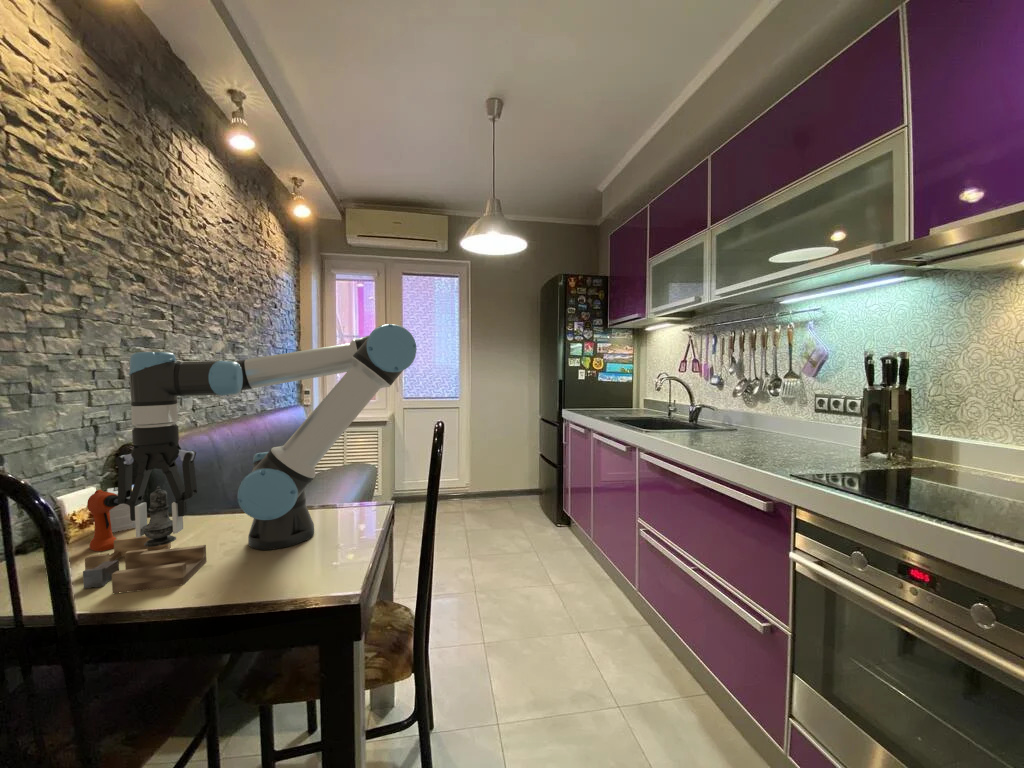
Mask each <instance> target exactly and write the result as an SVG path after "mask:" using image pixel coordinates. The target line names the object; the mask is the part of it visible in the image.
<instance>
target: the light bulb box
mask: <svg viewBox="0 0 1024 768" xmlns="http://www.w3.org/2000/svg"><path fill="white" fill-rule="evenodd" d="M133 487H134V484H132V490H133ZM106 492H110V493H114V494H116V495H117V496H118V486H117V487H109V488H107V489H106ZM109 512H110V521H111V529H112V532H113V533H117V532H118V531H119V532H123V531H122V530H124V531H128V530H127V529H129V530H132V529H131V528H134V529H136V525H135V521H131V519H130V506H129V505H127V504H119V505H118V506H115V507H114V508H112V509H111V510H110V511H109Z"/></svg>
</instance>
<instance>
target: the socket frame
mask: <svg viewBox="0 0 1024 768" xmlns="http://www.w3.org/2000/svg"><path fill="white" fill-rule="evenodd" d="M149 540H150V538H148V537H146V536H145V535H143V536H141V537H136V536H132V537H121V538H116V540H114V548H113V550H114V551H113V552H112V553H111V554H110V553H109V552H107V553H100V554H99V553H98V554H90V555H87V556H85V557H84V570H86V569H93V568H95V567H97V566H99V565H100V564H102V563H103V562H106V561H114V560H118V559H119V558H121V557H124V564H125V570H128V569H136V568H138V567H139V566H140V554H141V553H143V552H147V551H156V550H164V549H170V548H171V549H172V542H170V543H168V544H164V545H160V546H154V547H146V546H144V544H145V543H146V542H147V541H149ZM120 556H121V557H120Z"/></svg>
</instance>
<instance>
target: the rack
mask: <svg viewBox="0 0 1024 768" xmlns="http://www.w3.org/2000/svg"><path fill="white" fill-rule="evenodd" d="M207 561H208V560H207V545H206V544H202V545H201V544H200V545H192V546H182V547H176V548H175V547H173V548H171V549H164V550H156V551H147V552H143V553H141V554H140V566H139V567H138V568H136V569H128V570H126V569H122V570H121V569H119V571H116V572H114V573H113V574H112V579H111V585H112V589H111V590H112V591H111V592H112V594H113V593H118V594H120V593H119V592H126V593H128V592H127V591H133V592H138V591H137V590H141V591H146V590H155V589H161V588H171V587H177V586H182V585H185V584H186V583H187V582H188V581H189V579H191V578H193V577H194V575H195V574H196V573H197V572H198V571H199V570H200V569H201V568H203V566H204V565H205V564H206V563H207Z"/></svg>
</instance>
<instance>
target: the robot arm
mask: <svg viewBox="0 0 1024 768" xmlns="http://www.w3.org/2000/svg"><path fill="white" fill-rule="evenodd" d="M416 354H417V344H416V340H415V338H414V335H412V333H411V332H410V331H409V330H408V329H406V328H405V327H403V326H401V325H400V324H399V325H398V324H393V323H386V324H382V325H380V326H378V327H376V328H374V329H373V330H372V331H371V332H370V333H369V335H366V336H363V337H358V338H353V339H351V341H350V342H349V343H343V344H338V345H331V346H324V347H318V348H312V349H305V350H299V351H291V352H287V353H279V354H278V353H277V354H274V355H267V356H266V355H265V356H261V357H260V356H259V357H254V358H247V359H242V360H241V359H240V360H232V361H227V360H216V361H215V360H213V361H212V360H211V361H207V360H205V361H201V360H200V361H179V360H177V359H176V354H174V353H173V352H167V351H161V352H160V351H159V352H157V351H155V352H154V351H139V352H133V354H131V355H130V356H129V373H128V376H129V389H130V402H131V403H130V408H131V412H130V413H131V416H130V417H131V425H133V426H135V427H133V428H132V429H131V434H132V435H131V436H132V437H131V438H132V446H133V447H132V451H131V452H130V453H129V454H122V455H119V456H117V457H115V459H114V460H115V463H116V467H118V469H117V470H118V471H117V473H118V476H117V477H118V479H117V487H118V503H119V504H127V505H129V506H130V519H131V521H135V525H136V528H135V537H141V536H145V534H144V531H143V530H142V527H144V526H146V525H148V511H147V510H148V509H147V502H145V501H144V499H143V498H144V494H145V492H146V488H147V484H148V483H149V480H150V476H151V474H152V472H153V470H155V469H157V470H161V471H162V473H163V474H164V476H165V477H166V480H167V482H168V485H169V487H170V488H171V492H172V495H173V496H174V499H175V500H174V501H173V502H172V503H171V515H172V517H171V518H172V519H171V520H172V521H173V532H172V534H178V533H179V532H181V531H182V530H184V516H186V515H187V513H188V499H192V498H193V497H194V496H196V495H197V494H198V488H197V478H196V471H195V470H196V468H195V459H196V456H197V452H196V450H190V451H188V450H184V449H182V448H181V446H180V444H179V443H180V442H179V440H180V435H179V434H180V433H179V425H177V424H175V423H177V422H178V421H179V416H178V415H179V413H178V397H189V396H191V397H192V396H194V397H195V396H196V397H197V396H198V397H199V396H200V397H201V396H228V395H237V394H240V392H241V391H242V392H243V391H246V390H252V389H257V388H264V387H268V386H275V385H280V384H281V385H282V384H286V383H292V382H297V381H303V380H309V379H314V378H315V379H317V378H321V377H326V376H332V375H337V374H338V375H339V374H343V373H345V374H344V375H343V376H342V378H341V379H340V380H339V381H337V383H336V384H335V385H334V387H333V388H332V389H331V390H330V391H329V392H328V393H327V395H326V396H325V397H324V398H323V399H322V401H320V402H319V404H318V405H317V406H316V407H315V408H314V410H313V411H312V412H311V413H310V414H309V415H308V416H307V418H306V419H305V420H303V422H302V423H301V424H300V426H298V428H297V429H296V430H295V432H294V433H293V434H292V435H291V436H290V437H289V439H288V440H286V442H285V443H284V445H283V444H282V445H279V446H274V447H272V448H270V450H269V451H265V452H257V453H255V454H254V455H253V457H252V458H253V460H252V467H253V468H252V471H251V472H250V473H249V474H247V475H245V476H244V478H243V479H242V480H241V482H240V483H239V486H238V490H237V503H238V505H239V507H240V509H241V510H242V511H243V513H245V514H246V515H247V516H249V517H251V518H253V520H252V523H251V527H250V530H249V533H248V535H247V536H248V538H247V539H248V546H249V547H250V548H252V549H253V550H258V551H259V550H260V551H261V550H262V551H263V550H264V551H265V550H277V549H282V548H283V549H284V548H287V547H292V546H296V545H298V544H301V543H303V542H305V541H307V540H310V538H312V537H313V536H314V535H315V524H314V521H313V518H312V516H311V514H310V511H309V509H308V507H307V499H306V496H307V495H306V488H307V487H308V486H309V485H310V483H311V482H312V481H313V480H314V479H315V477H316V476H317V475H316V466H317V465H318V464H319V462H320V461H321V460H322V459H323V458H324V456H326V454H327V453H328V452H329V451H330V449H331V448H333V446H334V445H335V443H337V441H338V440H339V439H340V437H341V436H342V435H343V433H345V431H346V430H347V429H348V428H349V426H350V425H351V424H352V423H353V422H354V421H355V419H356V418H357V417H358V416H359V415H360V413H361V412H362V411H363V410H364V409H365V407H366V406H367V405H368V404H369V403H370V401H371V400H372V399H373V398H374V396H376V395H377V393H378V392H379V391H380V390H381V389H382V388H390V387H391V386H392V385H393V384H394V382H395V381H396V380H397V379H398V378H399V376H400V375H401V374H402V373H403V372H404V370H405V371H406V370H407V369H408V368H409V367H410V366H412V364H413V362H414V361H415V358H416ZM179 457H180V461H182V476H183V477H182V478H183V480H182V478H181V476H180V473H179V471H178V465H177V463H176V460H177V459H178V458H179ZM134 460H135V462H136V463H137V464H138V468H137V471H136V474H137V475H136V477H135V481H134V483H133V463H134ZM132 485H134V487H133V490H132Z"/></svg>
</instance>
